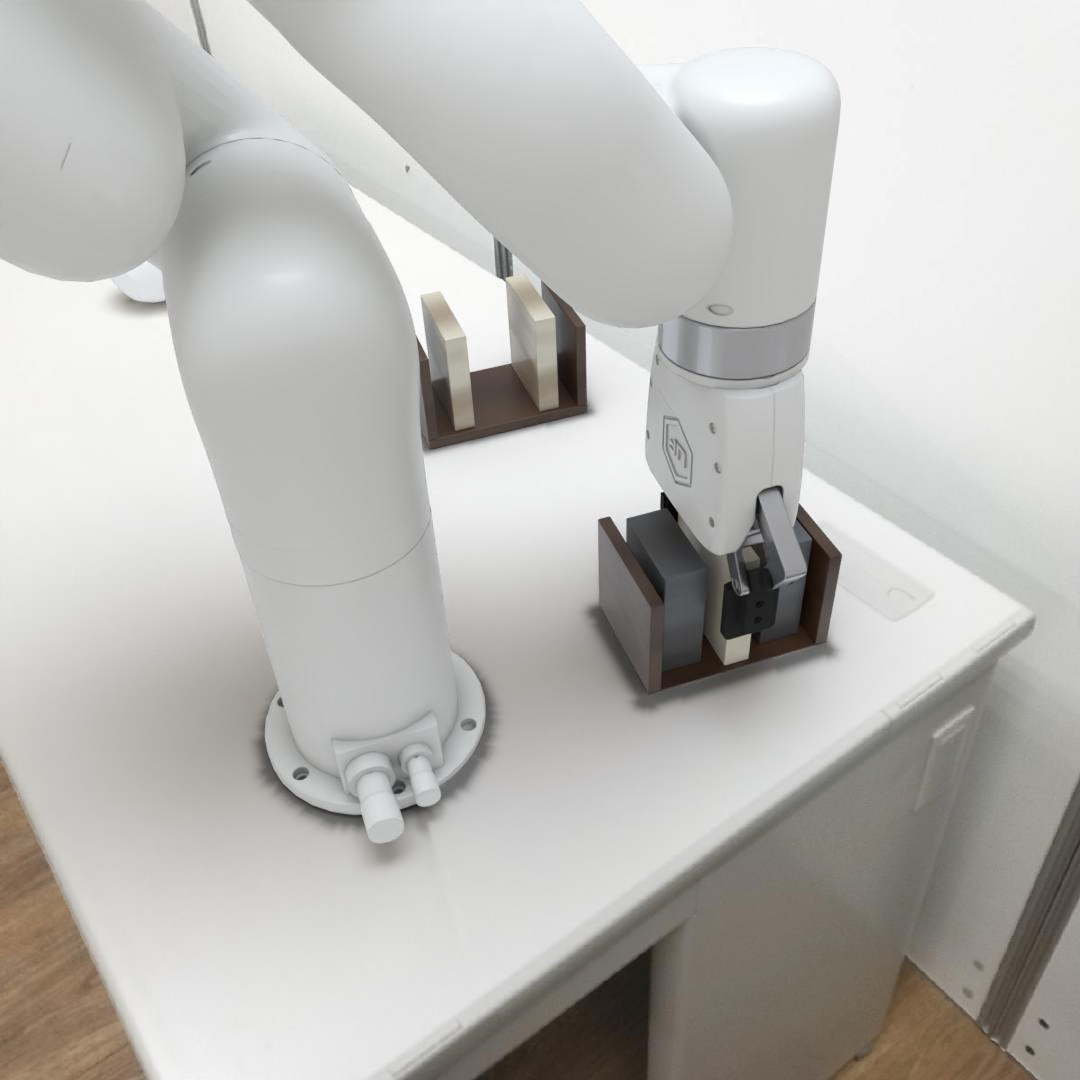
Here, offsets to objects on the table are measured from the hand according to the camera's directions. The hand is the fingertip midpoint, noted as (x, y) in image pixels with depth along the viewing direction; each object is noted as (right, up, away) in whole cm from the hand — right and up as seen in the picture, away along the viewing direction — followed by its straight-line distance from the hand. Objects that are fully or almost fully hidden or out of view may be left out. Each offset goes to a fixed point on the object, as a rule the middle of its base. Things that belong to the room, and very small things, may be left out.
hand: (714, 581), depth 66 cm
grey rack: (0, -3, +3) cm, 4 cm away
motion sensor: (-46, +25, +38) cm, 65 cm away
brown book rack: (-14, +13, +23) cm, 30 cm away
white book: (0, -3, +2) cm, 3 cm away
